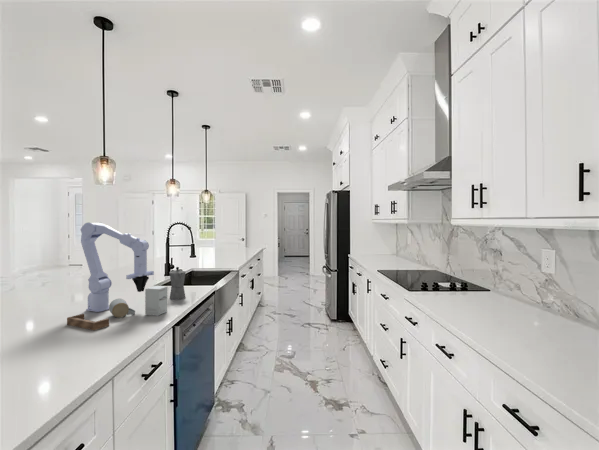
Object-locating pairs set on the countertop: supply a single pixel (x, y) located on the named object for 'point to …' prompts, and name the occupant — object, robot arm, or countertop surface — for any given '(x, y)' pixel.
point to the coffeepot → (177, 284)
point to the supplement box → (156, 300)
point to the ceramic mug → (120, 308)
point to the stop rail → (87, 322)
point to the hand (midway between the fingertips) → (140, 291)
